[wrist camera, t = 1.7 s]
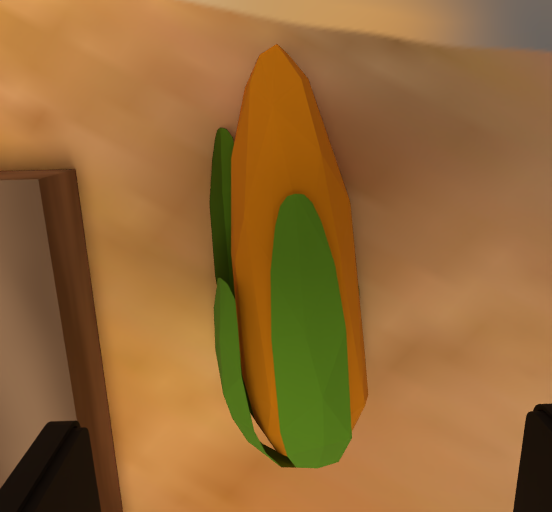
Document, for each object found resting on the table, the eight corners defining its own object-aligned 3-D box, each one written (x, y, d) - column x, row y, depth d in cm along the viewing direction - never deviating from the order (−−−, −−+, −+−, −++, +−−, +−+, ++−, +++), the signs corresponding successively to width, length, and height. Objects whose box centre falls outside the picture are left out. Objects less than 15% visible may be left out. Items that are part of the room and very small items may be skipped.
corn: (233, 531, 21) (154, 39, 16) (234, 426, 29) (180, 64, 23) (398, 507, 22) (379, 17, 16) (358, 409, 29) (335, 49, 23)
